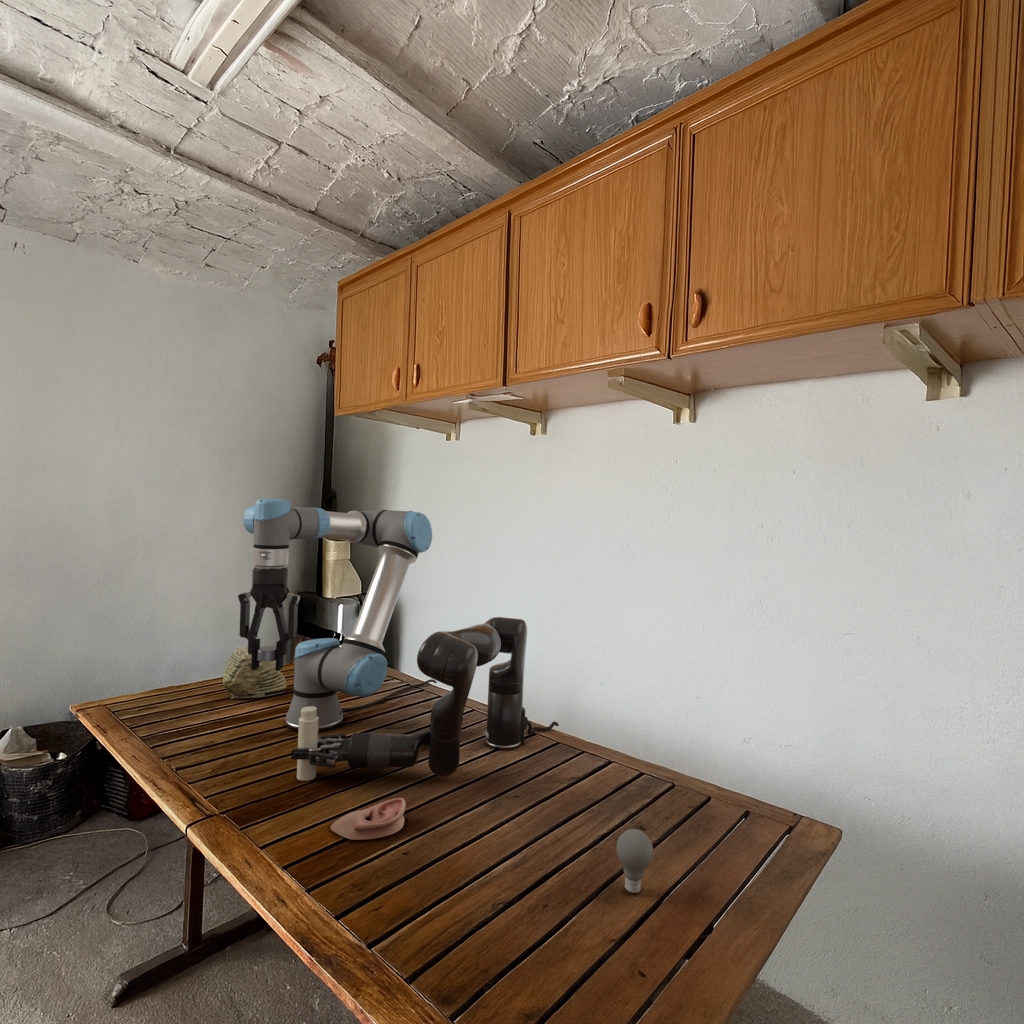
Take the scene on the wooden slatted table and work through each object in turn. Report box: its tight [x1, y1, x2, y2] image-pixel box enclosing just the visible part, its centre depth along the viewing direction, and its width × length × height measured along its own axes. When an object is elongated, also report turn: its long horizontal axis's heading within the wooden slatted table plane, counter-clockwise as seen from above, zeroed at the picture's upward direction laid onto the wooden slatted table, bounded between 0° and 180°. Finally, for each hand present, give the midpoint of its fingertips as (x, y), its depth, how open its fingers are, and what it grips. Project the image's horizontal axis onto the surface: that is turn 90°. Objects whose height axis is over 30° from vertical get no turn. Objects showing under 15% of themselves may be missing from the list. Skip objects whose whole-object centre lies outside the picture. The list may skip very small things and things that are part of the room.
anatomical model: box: [330, 797, 407, 841], centre depth 123 cm, size 13×4×12 cm
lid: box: [257, 645, 276, 661], centre depth 144 cm, size 5×5×2 cm
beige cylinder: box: [296, 706, 319, 782], centre depth 143 cm, size 4×4×16 cm
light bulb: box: [615, 828, 654, 894], centre depth 106 cm, size 6×6×10 cm
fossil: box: [222, 646, 288, 699], centre depth 198 cm, size 9×18×15 cm, turn 132°
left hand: (267, 668), depth 144 cm, fingers closed on lid, 5 cm apart
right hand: (295, 749), depth 143 cm, fingers closed on beige cylinder, 4 cm apart
